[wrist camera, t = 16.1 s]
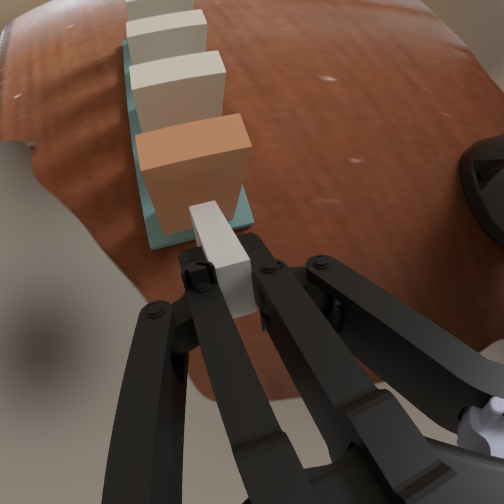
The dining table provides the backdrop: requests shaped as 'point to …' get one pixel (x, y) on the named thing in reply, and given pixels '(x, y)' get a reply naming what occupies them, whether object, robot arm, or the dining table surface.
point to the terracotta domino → (194, 167)
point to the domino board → (151, 220)
